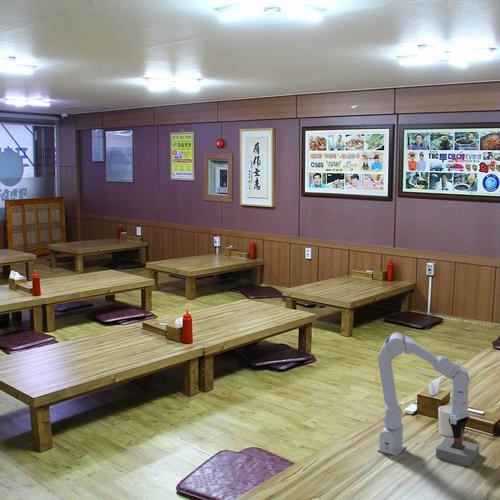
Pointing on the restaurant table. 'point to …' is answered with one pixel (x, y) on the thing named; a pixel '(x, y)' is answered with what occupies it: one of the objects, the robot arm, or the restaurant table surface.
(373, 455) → the restaurant table surface
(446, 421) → the white cup
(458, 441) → the pin
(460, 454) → the block
